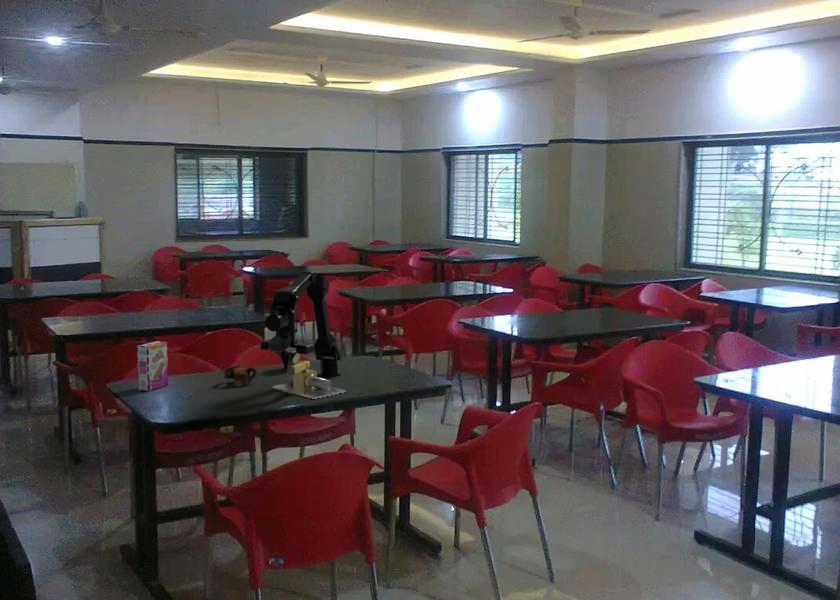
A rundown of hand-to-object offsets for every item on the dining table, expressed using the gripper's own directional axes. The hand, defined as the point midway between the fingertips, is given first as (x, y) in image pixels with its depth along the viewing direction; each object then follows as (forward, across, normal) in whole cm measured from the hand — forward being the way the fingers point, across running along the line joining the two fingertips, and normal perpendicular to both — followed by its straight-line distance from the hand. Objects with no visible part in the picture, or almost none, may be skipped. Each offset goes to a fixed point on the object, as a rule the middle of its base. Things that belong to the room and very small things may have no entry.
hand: (287, 370), depth 294 cm
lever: (+1, +2, +5) cm, 5 cm away
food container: (+10, -23, +39) cm, 46 cm away
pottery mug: (+10, -26, +9) cm, 29 cm away
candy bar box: (+10, -51, -8) cm, 53 cm away
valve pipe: (+9, +3, +9) cm, 13 cm away
